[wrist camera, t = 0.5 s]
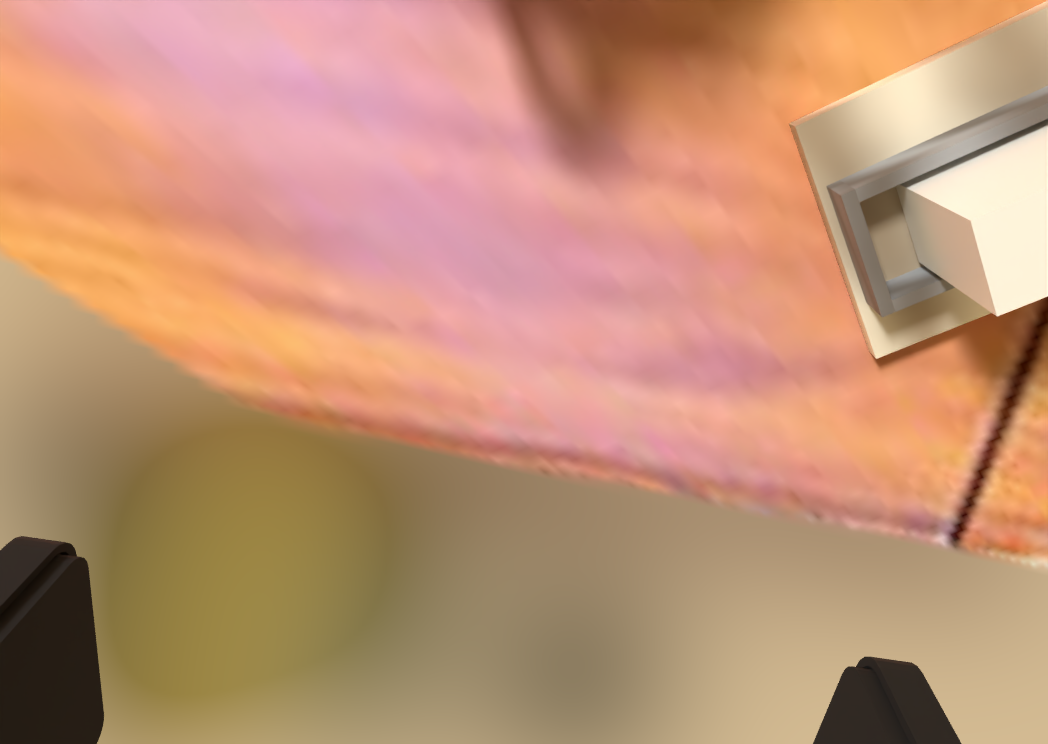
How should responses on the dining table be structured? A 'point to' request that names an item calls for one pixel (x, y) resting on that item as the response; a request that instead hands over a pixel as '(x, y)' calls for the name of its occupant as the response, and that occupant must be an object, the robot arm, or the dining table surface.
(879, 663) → the robot arm
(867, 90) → the base
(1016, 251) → the white teal block
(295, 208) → the dining table surface
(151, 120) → the dining table surface
